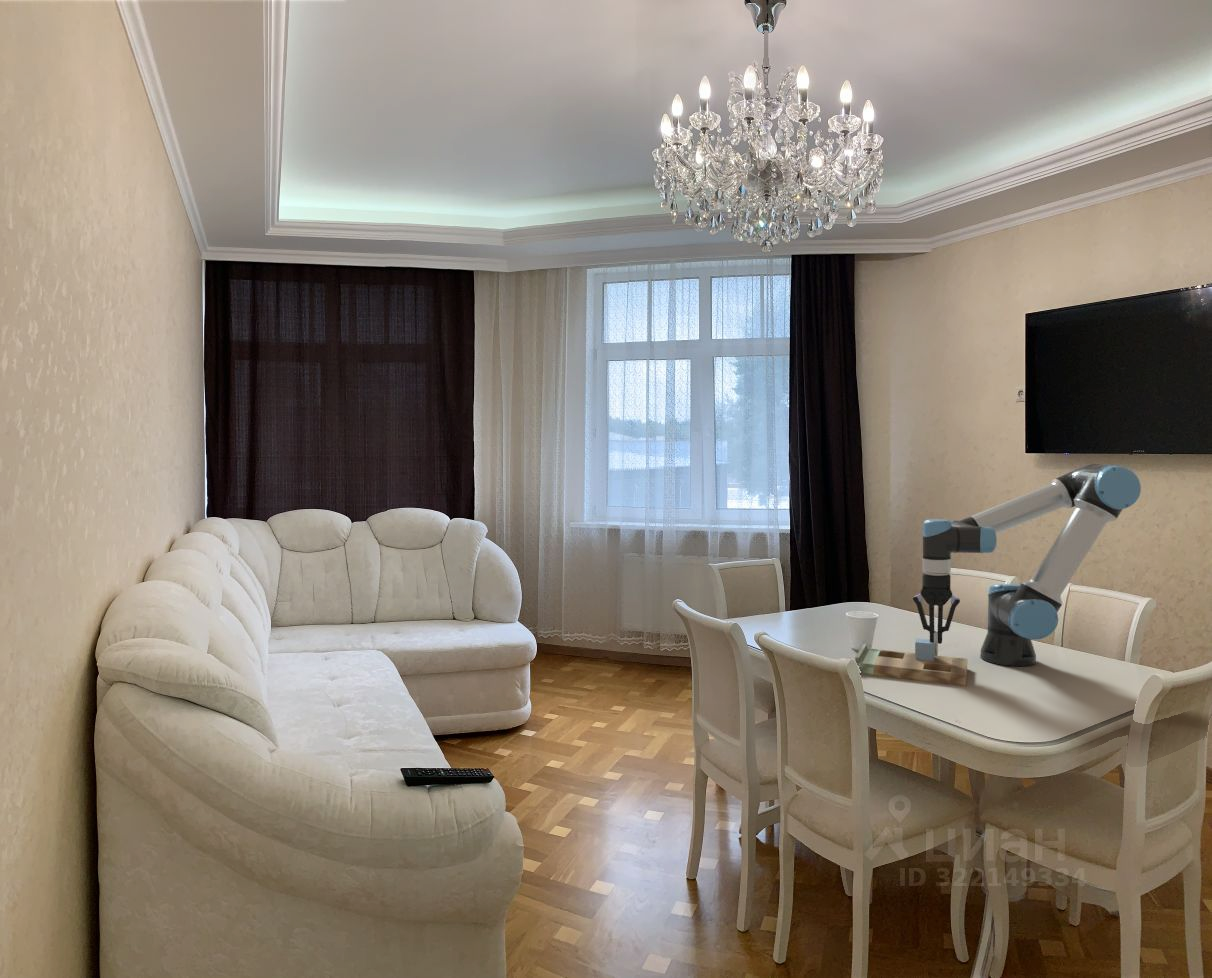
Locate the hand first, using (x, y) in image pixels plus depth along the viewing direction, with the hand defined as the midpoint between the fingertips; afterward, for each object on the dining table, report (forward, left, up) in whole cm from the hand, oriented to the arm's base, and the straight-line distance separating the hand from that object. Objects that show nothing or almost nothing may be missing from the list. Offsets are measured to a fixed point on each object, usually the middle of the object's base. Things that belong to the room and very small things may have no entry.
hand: (935, 654), depth 239 cm
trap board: (+6, +4, -5) cm, 8 cm away
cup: (+23, -16, -5) cm, 28 cm away
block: (+3, 0, -2) cm, 3 cm away
